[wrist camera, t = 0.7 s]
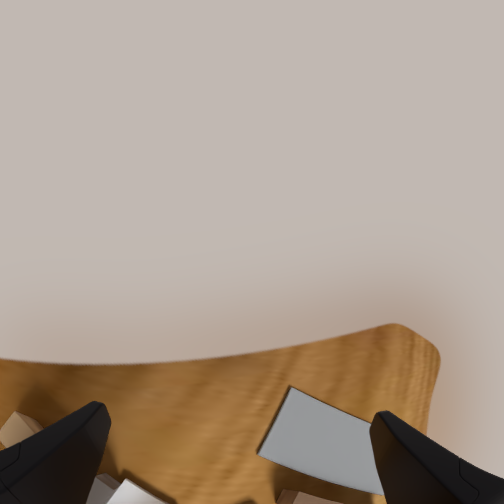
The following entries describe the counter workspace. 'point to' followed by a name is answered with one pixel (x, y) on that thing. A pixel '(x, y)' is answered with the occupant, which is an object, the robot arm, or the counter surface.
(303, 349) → the counter surface
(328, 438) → the mat
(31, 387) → the counter surface
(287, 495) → the corner fence
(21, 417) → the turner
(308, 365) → the counter surface
